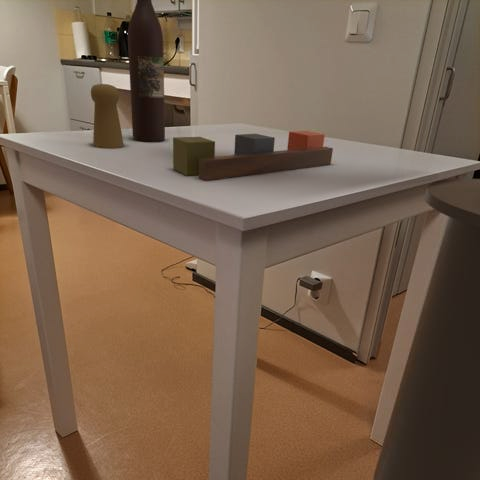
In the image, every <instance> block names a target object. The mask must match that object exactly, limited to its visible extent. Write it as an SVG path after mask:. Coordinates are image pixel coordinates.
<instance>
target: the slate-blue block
mask: <svg viewBox="0 0 480 480" xmlns="http://www.w3.org/2000/svg"><path fill="white" fill-rule="evenodd" d="M275 139H276V137H274V136H269V135H264V134H261V133H260V134H259V133H241V134H240V133H239V134H235V136H234V152H233V155H239V154H250V153H261V152H272V151H275V141H276V140H275Z"/></svg>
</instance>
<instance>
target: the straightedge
mask: <svg viewBox="0 0 480 480" xmlns="http://www.w3.org/2000/svg"><path fill="white" fill-rule="evenodd" d="M333 151H334V148H333V147H329V146H323V147H315V148H304V149H294V150H287V149H285V150H274V151H272V152H261V153H250V154H239V155H234V154H231V155H230V154H228V155H219V156H215V157H207V158H199V175H198V179H200V180H204V181H206V182H207V181H213V180H214V181H215V180H221V179H229V178H236V177H237V178H238V177H244V176H253V175H259V174H266V173H267V174H269V173H275V172H283V171H291V170H299V169H305V168H312V167H321V166H327V165H329V166H330V165H331V164H332V159H333V158H332V156H333Z"/></svg>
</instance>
